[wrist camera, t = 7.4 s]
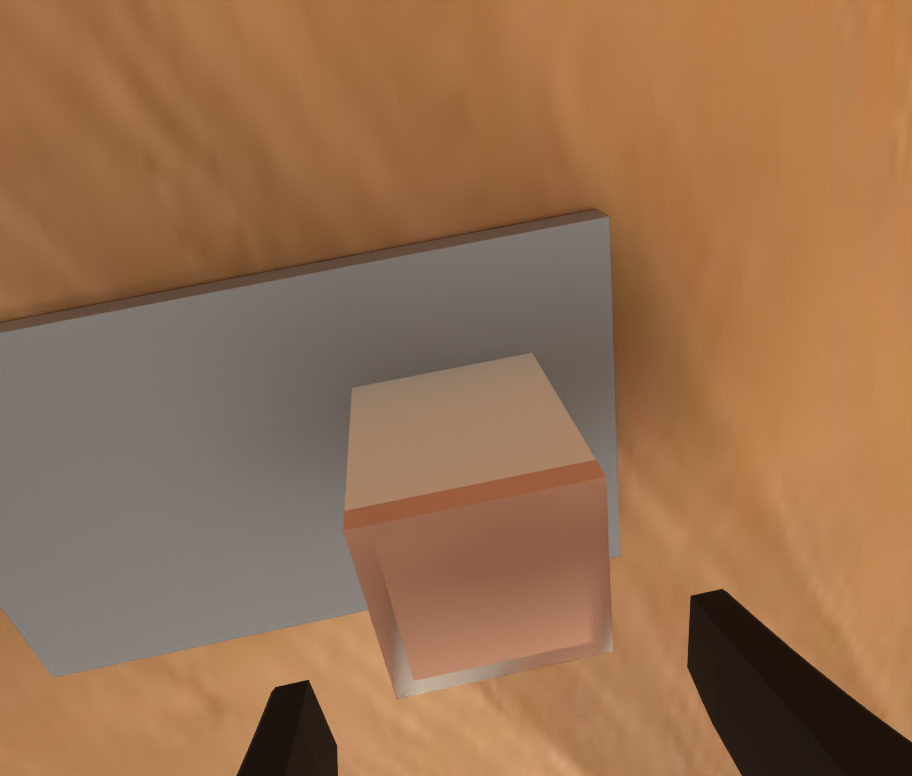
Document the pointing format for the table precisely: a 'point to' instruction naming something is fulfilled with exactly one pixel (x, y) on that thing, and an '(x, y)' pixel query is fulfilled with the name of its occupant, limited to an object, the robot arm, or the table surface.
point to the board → (258, 430)
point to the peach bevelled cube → (476, 525)
